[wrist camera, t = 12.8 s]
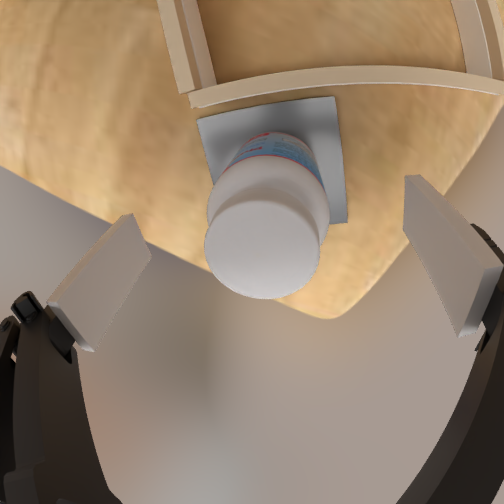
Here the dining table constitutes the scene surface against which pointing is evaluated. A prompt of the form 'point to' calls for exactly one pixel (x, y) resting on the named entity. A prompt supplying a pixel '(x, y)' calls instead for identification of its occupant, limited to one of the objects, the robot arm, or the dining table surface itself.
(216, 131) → the coaster
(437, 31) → the dining table surface
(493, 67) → the beige frame
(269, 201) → the pill bottle
